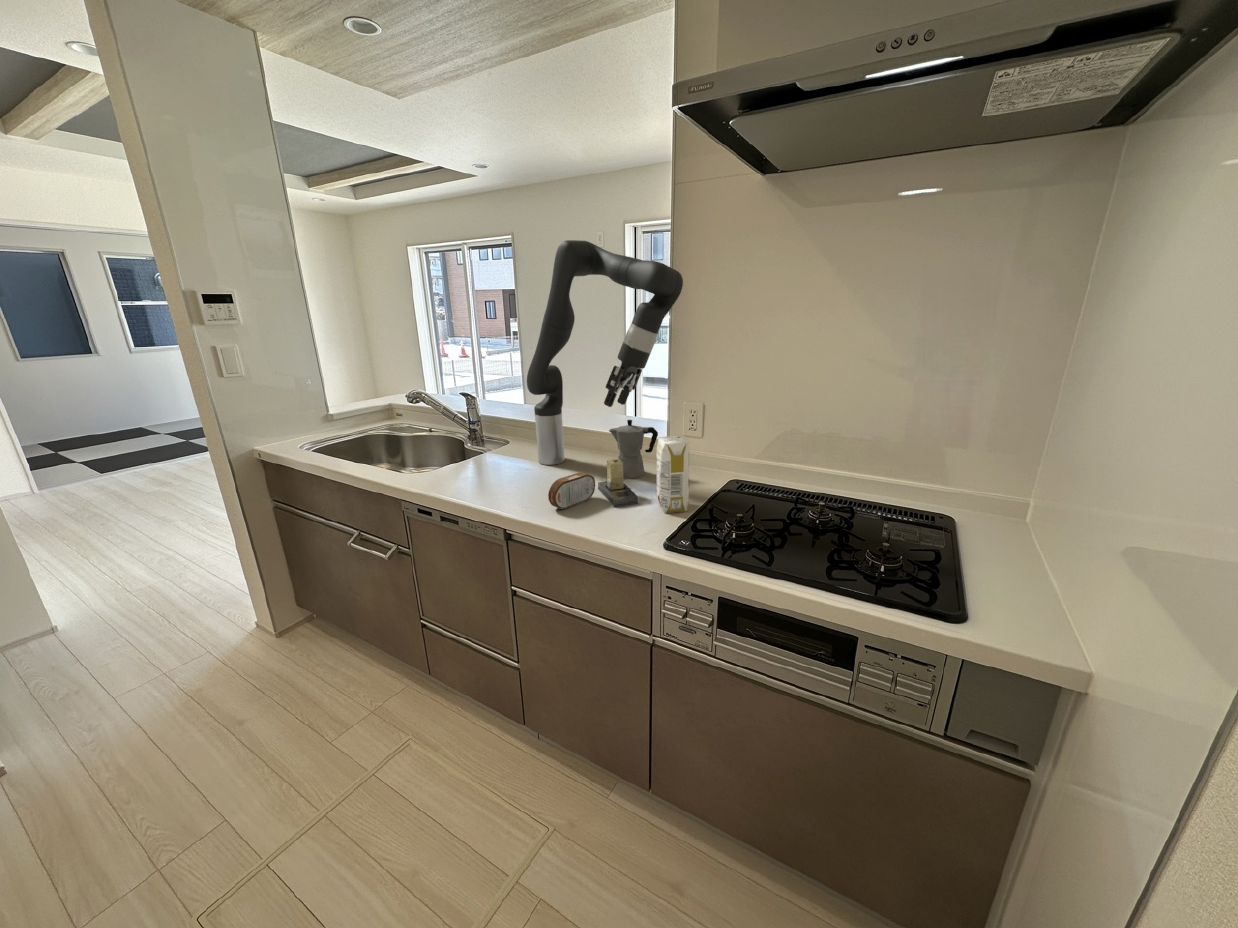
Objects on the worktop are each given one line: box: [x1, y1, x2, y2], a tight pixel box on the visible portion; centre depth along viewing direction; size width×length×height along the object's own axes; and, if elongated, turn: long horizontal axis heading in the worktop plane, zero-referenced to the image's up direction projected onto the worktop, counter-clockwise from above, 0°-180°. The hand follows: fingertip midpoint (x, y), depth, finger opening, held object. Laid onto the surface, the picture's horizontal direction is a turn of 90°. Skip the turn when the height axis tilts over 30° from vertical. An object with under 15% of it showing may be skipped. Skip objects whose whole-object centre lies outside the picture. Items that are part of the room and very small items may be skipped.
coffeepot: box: [608, 419, 659, 479], centre depth 154 cm, size 15×9×18 cm, turn 83°
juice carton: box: [656, 435, 691, 514], centre depth 128 cm, size 8×9×19 cm
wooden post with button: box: [606, 458, 625, 492], centre depth 139 cm, size 4×4×10 cm
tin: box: [547, 471, 596, 510], centre depth 133 cm, size 15×3×8 cm, turn 135°
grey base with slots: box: [597, 480, 639, 508], centre depth 139 cm, size 15×7×2 cm, turn 19°
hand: (614, 404), depth 127 cm, fingers open, 8 cm apart
